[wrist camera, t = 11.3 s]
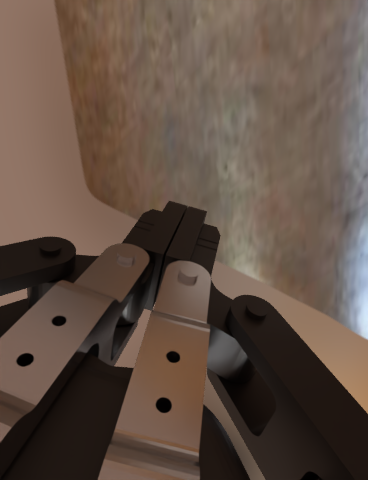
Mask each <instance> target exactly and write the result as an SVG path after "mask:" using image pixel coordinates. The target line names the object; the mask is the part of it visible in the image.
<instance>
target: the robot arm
mask: <svg viewBox="0 0 368 480" xmlns="http://www.w3.org/2000/svg"><path fill="white" fill-rule="evenodd" d="M206 213H207V211H204V210H200V209H197V208H193V207H190V206H189V207H188V209H187V206H186V205H182V204H179V203H175V202H172V201H169V202H168V203H167V205H166V207H165V208H164V210H163V211H162V212H161V211H158V210H154V209H152V210H150V211H147V212H145V213H143V214H142V216H141V217H140V219H139V220H138V222H137V223H136V224H135V226H134V227H133V228H132V230H131V231H130V233H129V234H128V235H127V237H126V238H125V239H124V241H123V242H122V243H121V244H115V245H112V246H110V247H108V248H107V249H106V250H105V251H104V252H103V253H102V254H101V255H100V256H86V255H76V248H75V246H74V245H73V244H72V243H71V242H70V241H68V240H66V239H63V238H59V237H42V238H37V239H33V240H28V241H23V242H19V243H14V244H9V245H5V246H0V296H2V295H5V294H8V293H12V292H15V291H19V290H22V289H25V288H27V295H28V298H27V299H23V300H20V301H17V302H13V303H10V304H7V305H4V306H1V307H0V480H250V478H249V476H248V474H247V472H246V470H245V468H244V466H243V464H242V462H241V460H240V458H239V456H238V454H237V452H236V450H235V448H234V446H233V444H232V442H231V440H230V438H229V436H228V435H227V432H226V431H225V429H224V428H223V426H222V425H221V423H220V422H219V420H218V419H217V418H216V417H215V415H214V414H213V413H212V412H211V411H210V410H209V409H208V408H207V407H206V406H205V405H204V404H203V401H204V391H205V380H206V369H207V375H208V378H209V380H210V382H211V383H212V385H213V387H214V389H215V390H216V392H217V394H218V396H219V398H220V399H221V401H222V403H223V405H224V407H225V408H226V410H227V412H228V413H229V415H230V417H231V419H232V421H233V422H234V424H235V426H236V428H237V430H238V431H239V433H240V435H241V437H242V438H243V440H244V442H245V444H246V446H247V447H248V449H249V450H250V452H251V454H252V456H253V458H254V460H255V461H256V463H257V465H258V467H259V469H260V470H261V472H262V474H263V476H264V477H265V479H266V480H368V414H367V413H366V411H365V410H364V409H363V408H362V407H361V406H360V405H359V404H358V402H357V401H356V400H355V399H354V398H353V397H352V396H351V394H350V393H349V392H348V391H347V390H346V389H345V388H344V386H343V385H342V384H341V383H340V382H339V381H338V380H337V379H336V377H335V376H334V375H333V374H332V373H331V372H330V371H329V369H328V368H327V367H326V366H325V365H324V364H323V363H322V361H321V360H320V359H319V358H318V357H317V356H316V355H315V353H314V352H313V351H312V350H311V349H310V348H309V347H308V345H307V344H306V343H305V342H304V341H303V340H302V339H301V338H300V336H299V335H298V334H297V333H296V332H295V331H294V330H293V329H292V327H291V326H290V325H289V324H288V323H287V322H286V320H285V319H284V318H283V317H282V316H281V315H280V314H279V313H278V311H277V310H276V309H275V308H274V307H273V306H272V305H271V304H270V303H268V302H267V301H265V300H264V299H262V298H259V297H256V296H252V295H241V296H238V297H236V298H235V299H234V300H232V299H230V298H228V297H227V296H225V295H223V294H222V293H221V292H220V291H218V290H217V289H216V287H215V286H214V284H213V283H212V280H211V273H212V269H213V265H214V261H215V257H216V252H217V248H218V244H219V240H220V233H219V231H218V229H217V227H214V226H210V225H207V224H204V221H205V217H206ZM155 302H156V303H155ZM154 304H155V307H154V310H152V309H153V306H154ZM144 309H148V310H152V312H151V314H150V318H149V321H148V324H147V327H146V331H145V334H144V337H143V340H142V344H141V347H140V350H139V353H138V357H137V360H136V363H135V366H134V368H127V367H115V366H114V365H115V364H116V362H117V361H118V359H119V357H120V355H121V354H122V351H123V350H124V348H125V347H126V345H127V343H128V341H129V339H130V338H131V336H132V334H133V332H134V330H135V329H136V327H137V325H138V319H139V318H140V316H141V314H142V312H143V310H144Z"/></svg>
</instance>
